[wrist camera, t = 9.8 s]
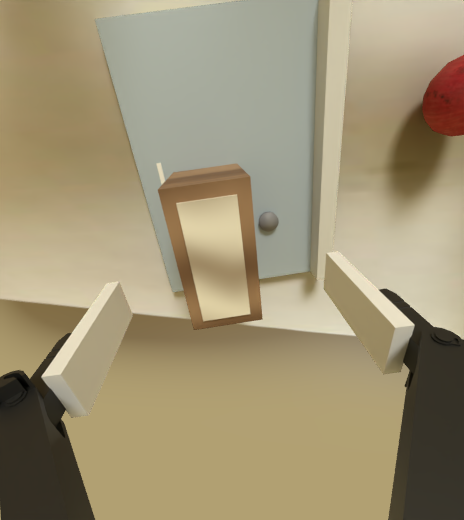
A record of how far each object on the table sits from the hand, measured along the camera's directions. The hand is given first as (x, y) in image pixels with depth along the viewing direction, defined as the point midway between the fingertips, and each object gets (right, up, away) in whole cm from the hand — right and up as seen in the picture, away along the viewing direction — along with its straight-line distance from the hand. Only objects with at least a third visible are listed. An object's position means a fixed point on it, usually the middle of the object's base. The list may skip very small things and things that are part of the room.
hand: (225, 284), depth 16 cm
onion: (+19, +17, +7) cm, 26 cm away
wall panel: (+1, +10, +9) cm, 13 cm away
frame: (-1, +5, +10) cm, 11 cm away
